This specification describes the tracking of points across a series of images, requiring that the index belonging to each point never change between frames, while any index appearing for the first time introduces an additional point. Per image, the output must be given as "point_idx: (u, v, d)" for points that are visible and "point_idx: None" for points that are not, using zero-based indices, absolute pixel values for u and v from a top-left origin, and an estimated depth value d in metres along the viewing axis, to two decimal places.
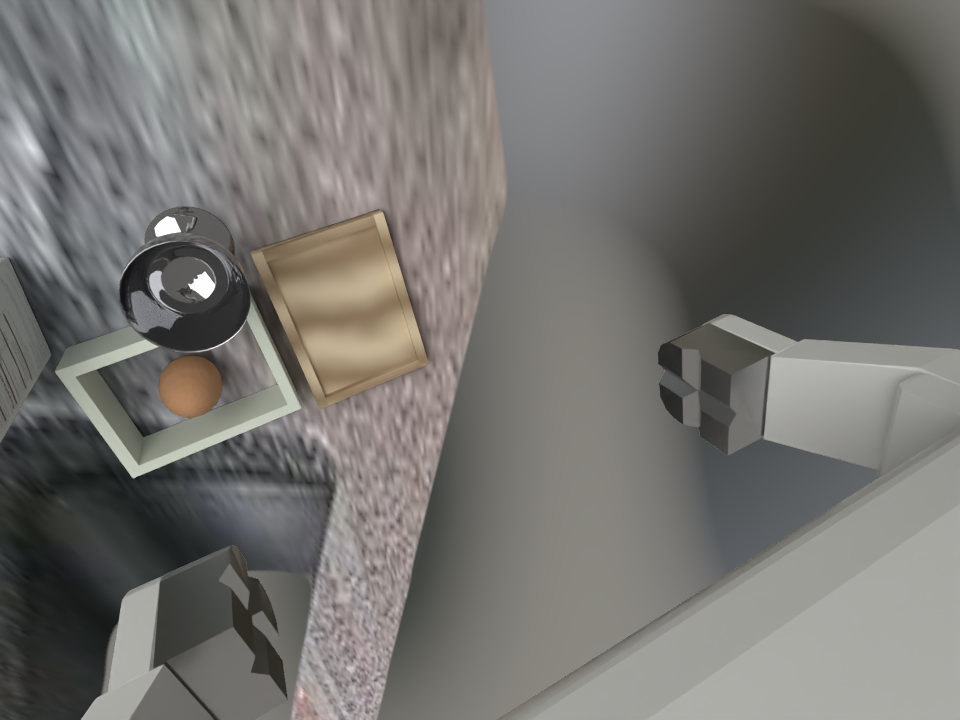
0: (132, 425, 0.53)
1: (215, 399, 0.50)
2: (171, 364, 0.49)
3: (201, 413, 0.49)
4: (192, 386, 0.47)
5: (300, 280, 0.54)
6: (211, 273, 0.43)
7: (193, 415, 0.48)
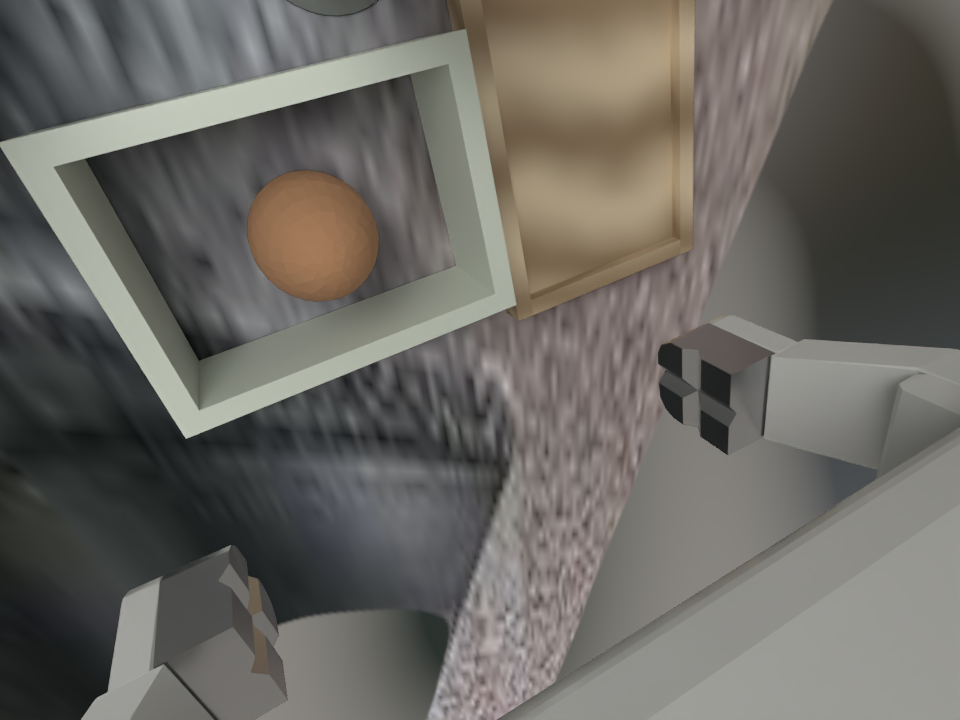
0: (179, 331, 0.25)
1: (374, 260, 0.22)
2: (275, 179, 0.22)
3: (349, 286, 0.21)
4: (336, 215, 0.20)
5: (524, 37, 0.26)
6: None
7: (333, 288, 0.21)
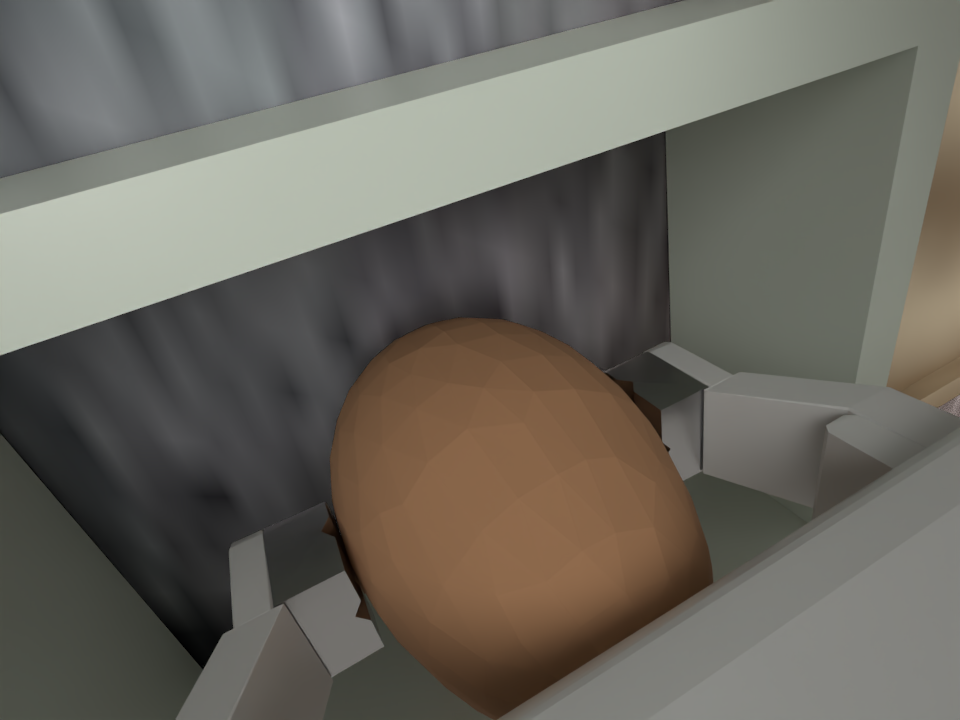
0: (161, 648, 0.11)
1: None
2: (415, 364, 0.08)
3: None
4: (659, 537, 0.06)
5: None
6: None
7: None
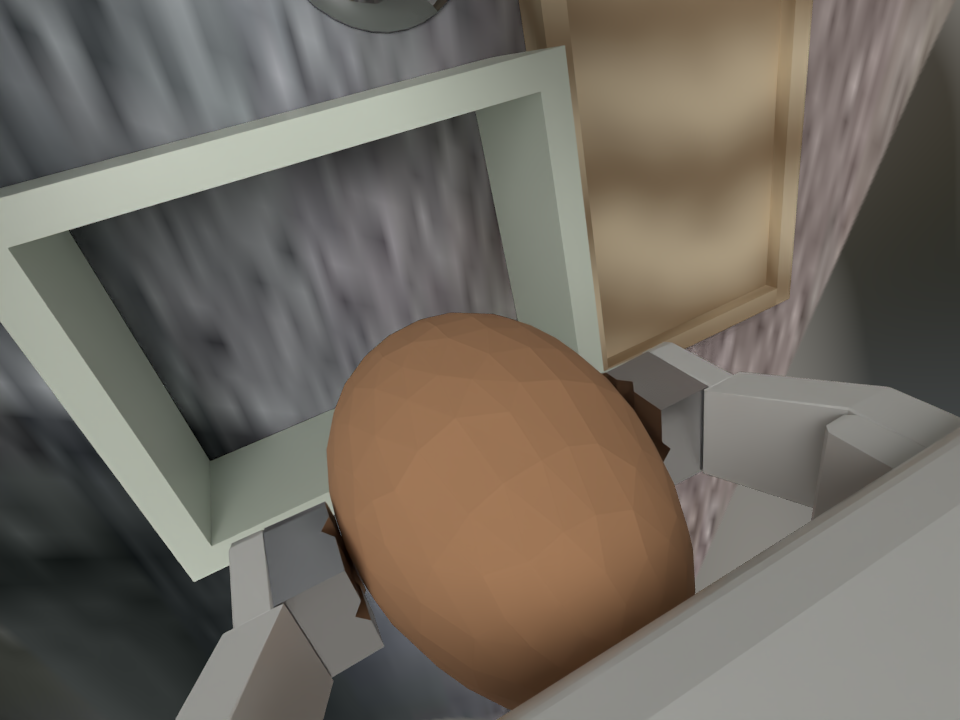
0: (185, 430, 0.20)
1: None
2: (407, 358, 0.08)
3: None
4: (638, 519, 0.06)
5: (613, 55, 0.21)
6: None
7: None
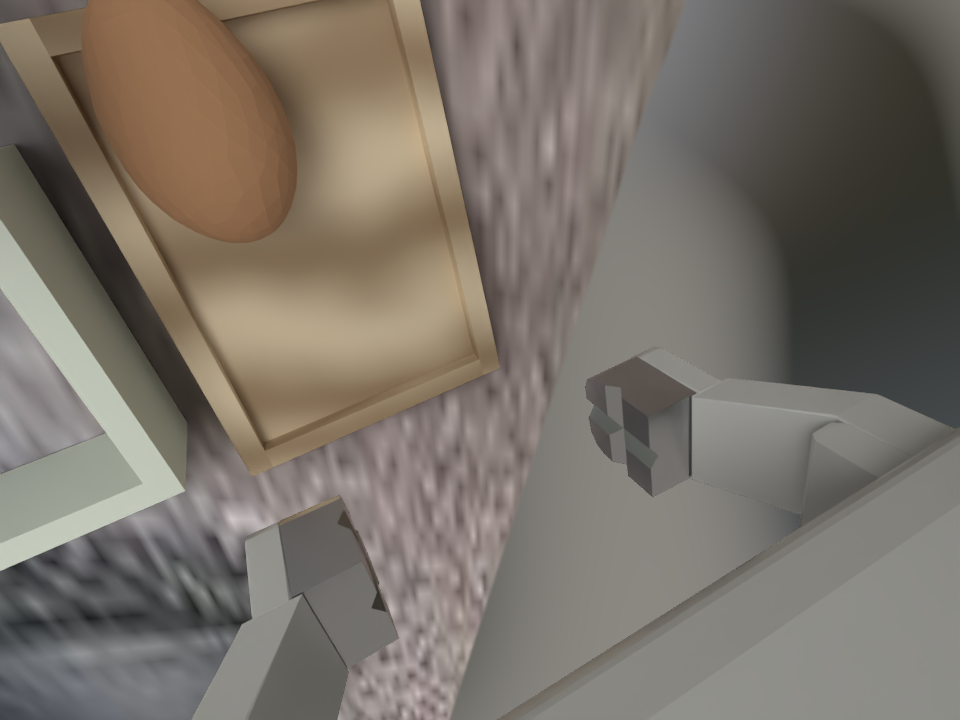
0: None
1: (206, 21, 0.15)
2: None
3: None
4: None
5: None
6: None
7: None
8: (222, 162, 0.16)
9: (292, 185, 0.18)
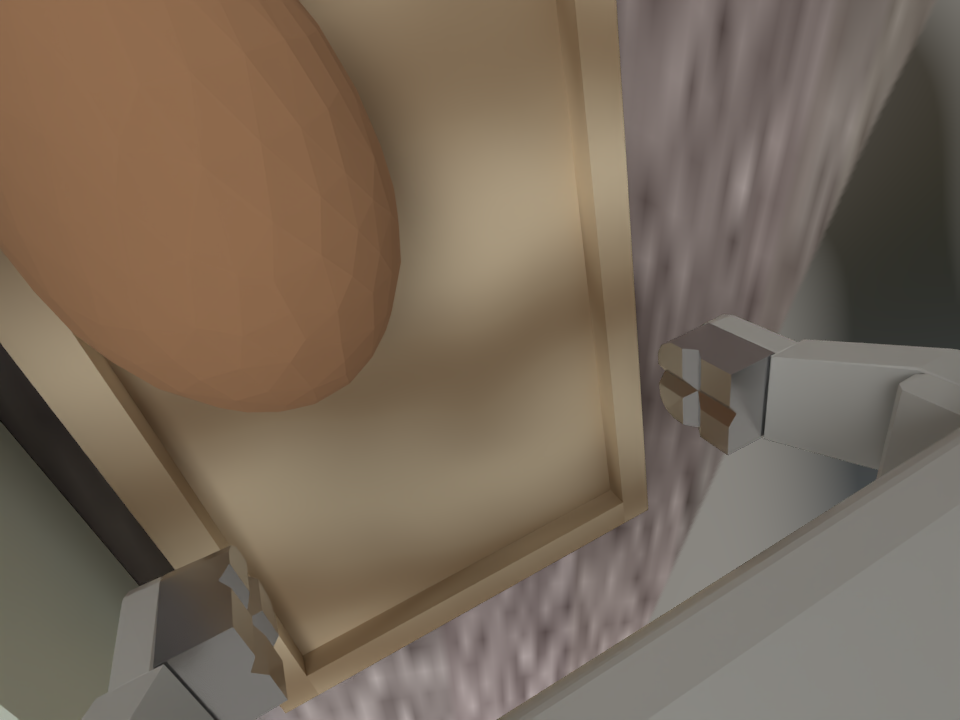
0: None
1: None
2: None
3: None
4: None
5: None
6: None
7: None
8: (259, 284, 0.06)
9: (393, 299, 0.09)
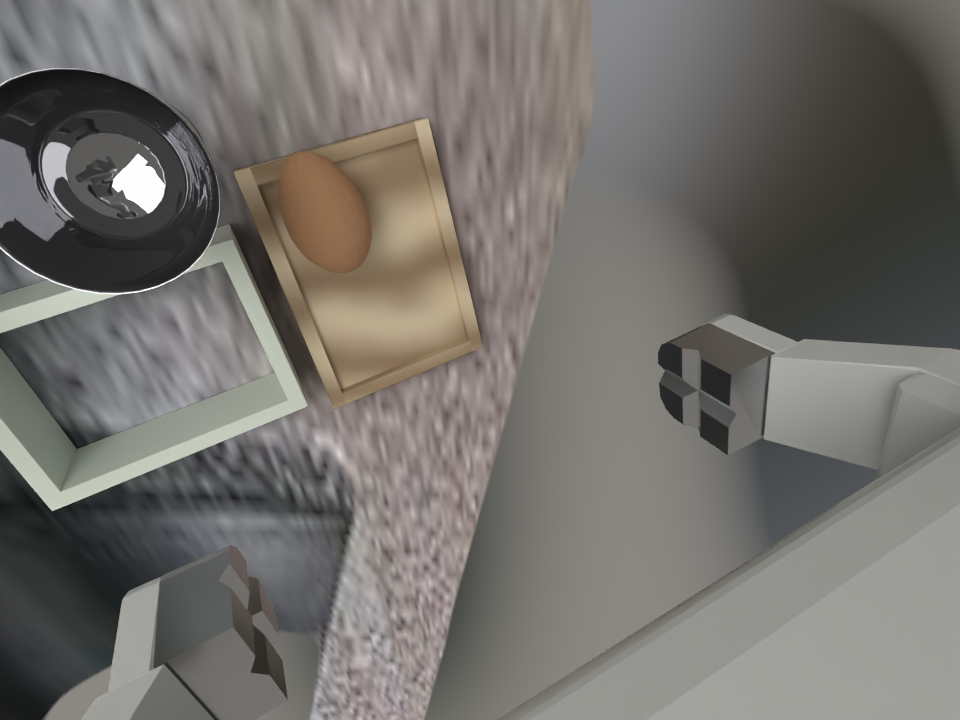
0: (57, 431, 0.36)
1: (336, 171, 0.33)
2: None
3: (307, 165, 0.32)
4: None
5: None
6: (160, 175, 0.26)
7: (295, 165, 0.32)
8: (341, 236, 0.33)
9: (369, 244, 0.36)
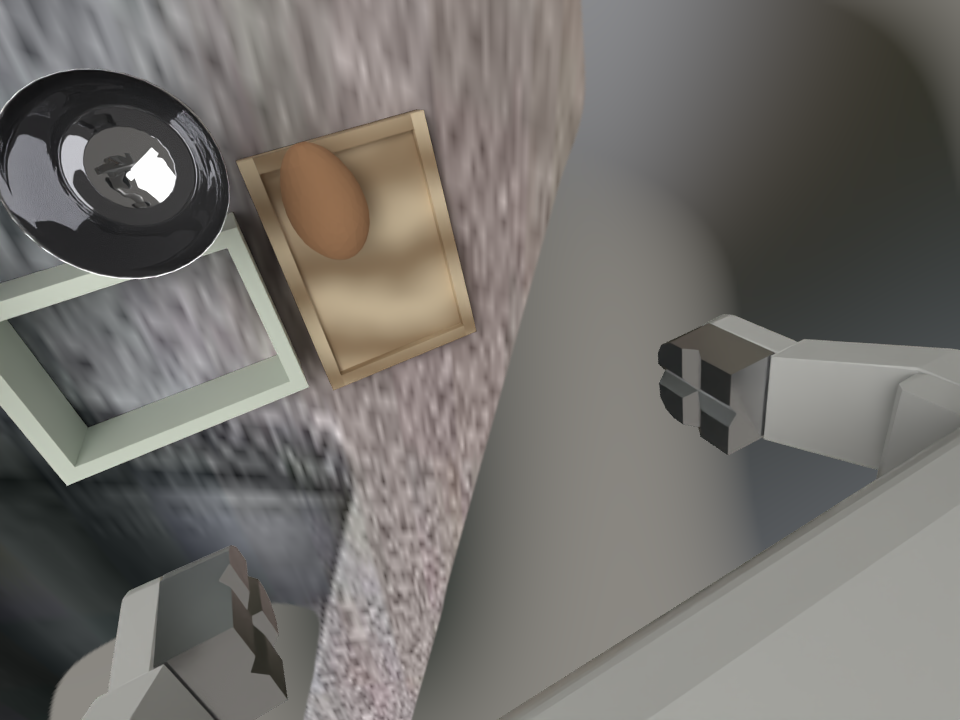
0: (69, 410, 0.37)
1: (335, 162, 0.34)
2: None
3: (307, 156, 0.33)
4: None
5: None
6: (170, 166, 0.27)
7: (296, 155, 0.33)
8: (341, 224, 0.35)
9: (367, 231, 0.37)
